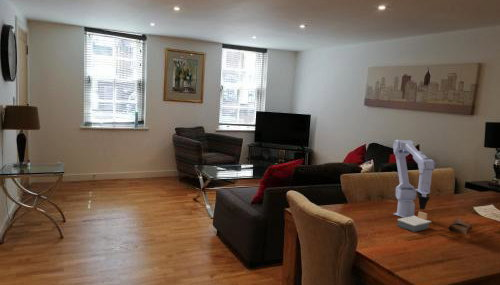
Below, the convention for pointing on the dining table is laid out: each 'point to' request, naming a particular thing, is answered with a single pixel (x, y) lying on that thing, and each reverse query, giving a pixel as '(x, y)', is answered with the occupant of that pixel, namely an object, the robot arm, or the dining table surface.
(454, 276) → the dining table surface
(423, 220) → the lid
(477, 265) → the dining table surface
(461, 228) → the sunglasses case
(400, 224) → the tub
